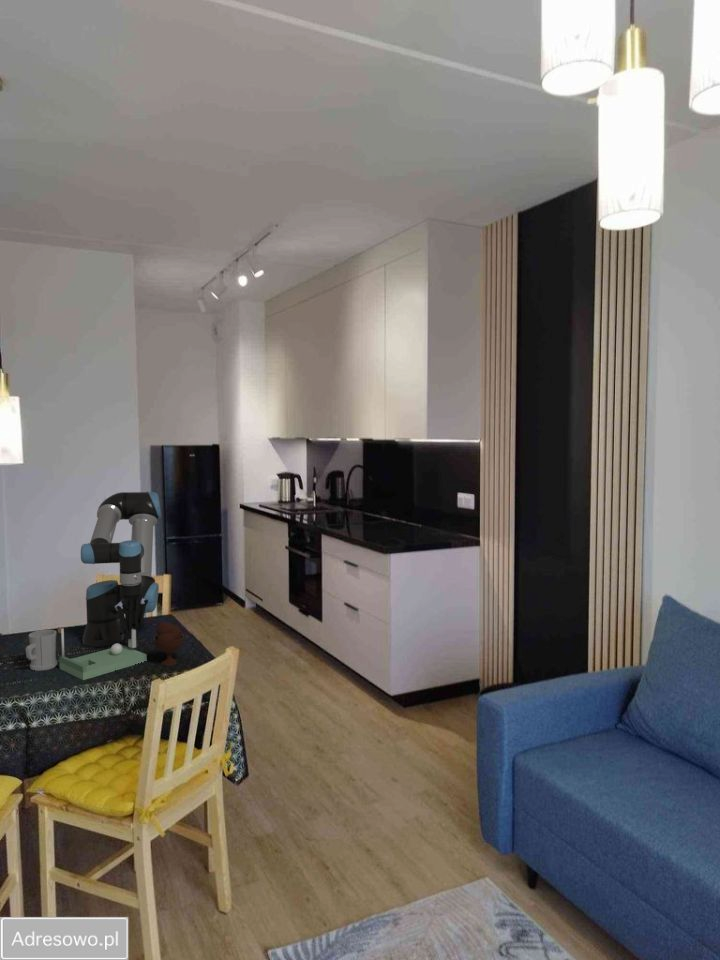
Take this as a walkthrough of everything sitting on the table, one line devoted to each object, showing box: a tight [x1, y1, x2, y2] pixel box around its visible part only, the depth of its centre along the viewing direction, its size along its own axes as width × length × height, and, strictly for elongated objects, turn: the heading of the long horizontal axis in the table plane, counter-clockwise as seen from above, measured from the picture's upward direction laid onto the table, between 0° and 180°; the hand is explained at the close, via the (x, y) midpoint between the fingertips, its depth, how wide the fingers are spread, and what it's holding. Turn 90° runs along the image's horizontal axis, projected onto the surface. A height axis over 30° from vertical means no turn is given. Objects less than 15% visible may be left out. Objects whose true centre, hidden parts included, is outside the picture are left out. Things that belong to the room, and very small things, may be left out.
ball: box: [110, 643, 123, 655], centre depth 242 cm, size 4×4×4 cm
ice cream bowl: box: [152, 621, 186, 667], centre depth 240 cm, size 11×11×15 cm
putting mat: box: [57, 626, 148, 681], centre depth 238 cm, size 17×24×14 cm
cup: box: [25, 629, 58, 672], centre depth 235 cm, size 10×9×12 cm
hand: (132, 646), depth 247 cm, fingers closed
